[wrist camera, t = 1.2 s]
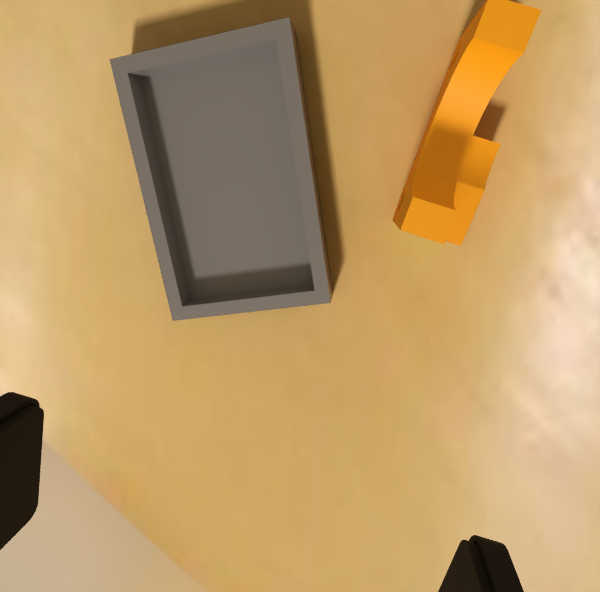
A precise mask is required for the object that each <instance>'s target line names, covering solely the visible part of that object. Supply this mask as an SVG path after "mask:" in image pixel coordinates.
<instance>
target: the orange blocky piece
mask: <svg viewBox="0 0 600 592" xmlns="http://www.w3.org/2000/svg"><path fill="white" fill-rule="evenodd" d="M540 12H541V10H539V9H536V8H533V7H529V6H526V5H523V4H519V3H516V2H512V1H509V0H486V1H485V2H484V4H483V5H482V7H481V8H480V10H479V11H478V13H477V14H476V15H475V17H474V18H473V20H472V21H471V23H470V24H469V25H468V27H467V28H466V30H465V31H464V33H463V34H462V36H461V37H460V40H459V42H458V45H457V48H456V50H455V53H454V56H453V58H452V61H451V64H450V67H449V69H448V72H447V75H446V77H445V80H444V83H443V85H442V88H441V91H440V93H439V96H438V99H437V101H436V104H435V107H434V110H433V112H432V115H431V118H430V120H429V123H428V126H427V128H426V131H425V134H424V136H423V139H422V142H421V145H420V147H419V150H418V153H417V155H416V158H415V161H414V163H413V166H412V169H411V171H410V174H409V177H408V180H407V182H406V185H405V188H404V190H403V193H402V196H401V198H400V201H399V204H398V206H397V209H396V212H395V215H394V217H393V222H394V223H395V224H396V225H397V226H398V228H399V229H400V230H402V231H405V232H408V233H411V234H414V235H417V236H420V237H423V238H426V239H429V240H433V241H436V242H439V243H442V244H444V243H445V241H448V242H451V243H454V244H457V245H460V246H461V244H462V242H463V239H464V237H465V235H466V232H467V230H468V228H469V225H470V223H471V221H472V218H473V216H474V214H475V211H476V209H477V207H478V204H479V202H480V200H481V197H482V195H483V193H484V190H485V185H486V182H487V178H488V175H489V172H490V169H491V166H492V163H493V161H494V158H495V156H496V153H497V151H498V149H499V146H500V144H499V143H496V142H492V141H489V140H486V139H483V138H480V137H476V136H473V134H474V132H475V129H476V127H477V125H478V123H479V121H480V119H481V117H482V115H483V113H484V111H485V109H486V107H487V105H488V103H489V101H490V99H491V97H492V96H493V94H494V92H495V90H496V89H497V87H498V85H499V84H500V82H501V80H502V79H503V77H504V76H505V74H506V73H507V72H508V70H509V69H510V67H511V66H512V65H513V64H514V62H515V61H516V60H517V59H518V58H519V57H520V56H521V55H522V54H523V53H524V51H525V48H526V46H527V44H528V41H529V39H530V36H531V34H532V32H533V29H534V27H535V24H536V22H537V19H538V17H539V15H540Z"/></svg>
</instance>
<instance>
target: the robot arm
mask: <svg viewBox="0 0 600 592" xmlns="http://www.w3.org/2000/svg"><path fill="white" fill-rule="evenodd" d="M43 420H44V411H43V409H41V408H40V406H39V402H38V400H36V399H33V398H30V397H27V396H23V395H20V394H17V393H14V392H9V393H6V394H4V395H2V396H0V550H1V549H2V548H3V547H4V546H5V544H7V543H8V541H10V540H11V538H13V537H14V536H15V535H16V534H17V532H19V530H21V528H22V527H23V526H25V525H26V523H27V522H28V521H29V520H30V519H31V518H32V516H33V515H34V513H35V511H36V508H37V505H38V496H39V495H38V494H39V481H40V465H41V449H42V435H43ZM438 592H524V591H523V589H522V586H521V583H520V581H519V578H518V576H517V573H516V570H515V568H514V565H513V563H512V560H511V558H510V555H509V552H508V550H507V548H506V546H505V545H504V544H502V543H499V542H496V541H493V540H490V539H486V538H483V537H480V536H477V535H473V536H472V537H471V538H470V540H469V541H467V540H462V541H461V542H460V544H459V546H458V549H457V551H456V553H455V555H454V558H453V560H452V562H451V564H450V567H449V569H448V571H447V573H446V576H445V578H444V580H443V582H442V585H441V587H440V589H439V591H438Z"/></svg>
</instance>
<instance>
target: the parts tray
mask: <svg viewBox="0 0 600 592" xmlns="http://www.w3.org/2000/svg"><path fill="white" fill-rule="evenodd" d="M110 63H111V67H112V71H113V75H114V79H115V83H116V87H117V92H118V96H119V100H120V104H121V108H122V112H123V116H124V121H125V125H126V129H127V133H128V137H129V141H130V145H131V150H132V154H133V158H134V162H135V166H136V170H137V174H138V179H139V183H140V187H141V191H142V195H143V199H144V203H145V208H146V212H147V216H148V220H149V224H150V228H151V232H152V237H153V241H154V245H155V249H156V253H157V257H158V262H159V266H160V270H161V274H162V278H163V282H164V286H165V291H166V295H167V299H168V303H169V307H170V311H171V315H172V320H173V321H175V320H183V319H192V318H201V317H210V316H219V315H227V314H236V313H245V312H254V311H263V310H271V309H280V308H289V307H298V306H307V305H315V304H324V303H331V299H332V295H333V291H332V284H331V277H330V270H329V263H328V256H327V249H326V242H325V235H324V228H323V221H322V214H321V207H320V199H319V192H318V185H317V178H316V171H315V164H314V157H313V150H312V143H311V136H310V129H309V122H308V115H307V108H306V101H305V94H304V87H303V80H302V73H301V66H300V59H299V52H298V45H297V38H296V31H295V29H294V26H293V24H292V22H291V20H290V17H288V18H283V19H279V20H275V21H271V22H266V23H262V24H258V25H254V26H249V27H245V28H241V29H237V30H232V31H228V32H224V33H220V34H215V35H211V36H207V37H203V38H198V39H194V40H190V41H186V42H181V43H177V44H173V45H169V46H165V47H160V48H156V49H152V50H148V51H143V52H139V53H135V54H131V55H126V56H122V57H118V58H114V59H110Z"/></svg>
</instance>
